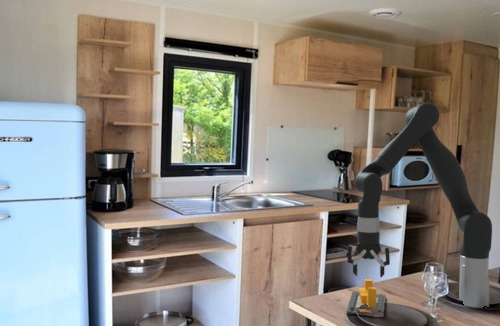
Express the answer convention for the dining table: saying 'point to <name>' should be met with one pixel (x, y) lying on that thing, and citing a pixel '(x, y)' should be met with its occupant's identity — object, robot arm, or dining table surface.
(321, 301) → the dining table surface
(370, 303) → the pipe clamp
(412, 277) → the dining table surface
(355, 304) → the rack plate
